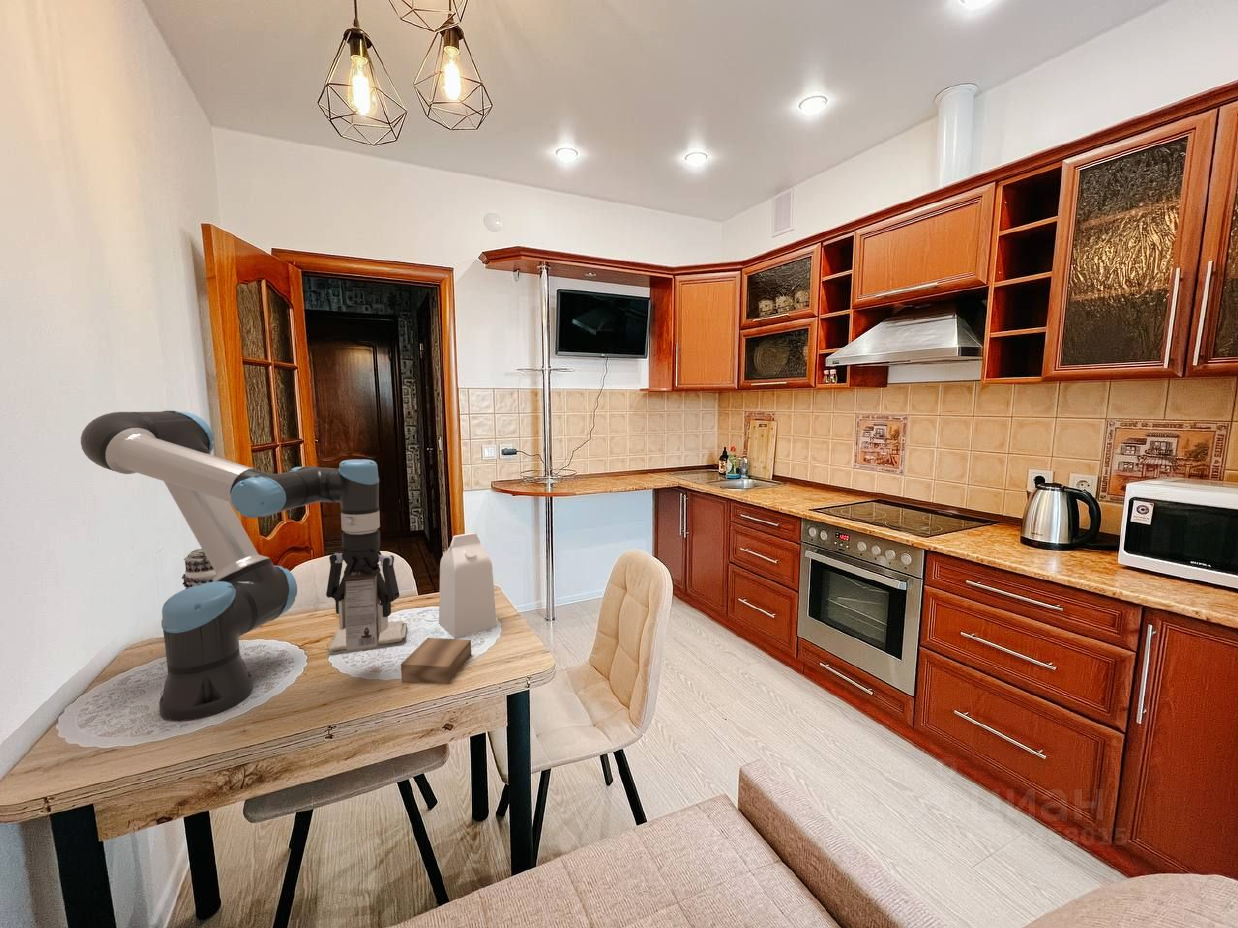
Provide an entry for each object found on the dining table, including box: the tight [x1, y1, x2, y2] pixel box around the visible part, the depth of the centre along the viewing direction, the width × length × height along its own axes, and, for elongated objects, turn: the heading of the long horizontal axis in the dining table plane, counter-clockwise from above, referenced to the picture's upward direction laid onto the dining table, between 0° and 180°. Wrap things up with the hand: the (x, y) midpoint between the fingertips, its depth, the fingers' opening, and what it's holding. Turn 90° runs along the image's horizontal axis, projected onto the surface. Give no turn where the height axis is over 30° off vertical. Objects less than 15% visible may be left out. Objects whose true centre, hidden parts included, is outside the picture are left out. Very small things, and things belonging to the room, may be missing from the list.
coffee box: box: [344, 563, 381, 650], centre depth 114 cm, size 9×6×16 cm
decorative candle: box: [181, 548, 216, 589], centre depth 128 cm, size 9×9×25 cm
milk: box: [438, 532, 498, 639], centre depth 141 cm, size 12×12×26 cm
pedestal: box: [400, 637, 472, 685], centre depth 119 cm, size 11×13×4 cm
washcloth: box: [328, 620, 408, 656], centre depth 133 cm, size 12×18×3 cm, turn 111°
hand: (364, 628), depth 114 cm, fingers closed on coffee box, 8 cm apart
